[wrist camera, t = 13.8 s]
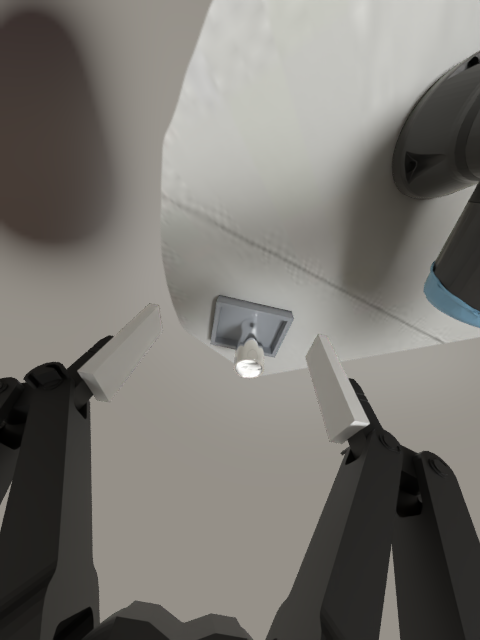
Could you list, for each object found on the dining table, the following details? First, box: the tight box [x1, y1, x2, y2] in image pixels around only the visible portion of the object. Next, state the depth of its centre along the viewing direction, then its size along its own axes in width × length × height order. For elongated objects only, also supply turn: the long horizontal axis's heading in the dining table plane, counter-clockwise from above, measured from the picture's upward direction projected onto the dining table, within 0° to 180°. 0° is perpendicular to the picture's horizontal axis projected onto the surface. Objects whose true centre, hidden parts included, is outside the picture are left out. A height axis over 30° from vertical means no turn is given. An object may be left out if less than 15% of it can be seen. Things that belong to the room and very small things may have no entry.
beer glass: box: [234, 319, 264, 379], centre depth 43 cm, size 7×7×15 cm
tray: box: [210, 295, 294, 358], centre depth 48 cm, size 20×15×4 cm
